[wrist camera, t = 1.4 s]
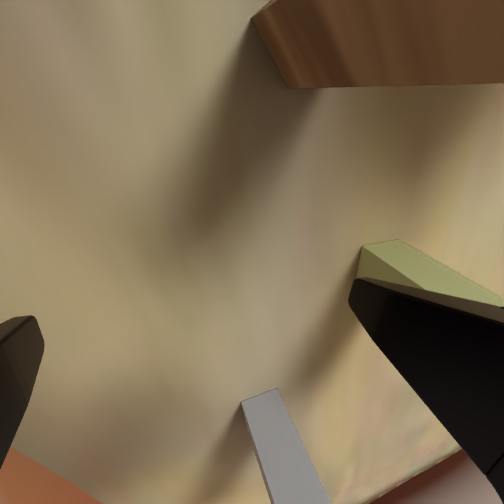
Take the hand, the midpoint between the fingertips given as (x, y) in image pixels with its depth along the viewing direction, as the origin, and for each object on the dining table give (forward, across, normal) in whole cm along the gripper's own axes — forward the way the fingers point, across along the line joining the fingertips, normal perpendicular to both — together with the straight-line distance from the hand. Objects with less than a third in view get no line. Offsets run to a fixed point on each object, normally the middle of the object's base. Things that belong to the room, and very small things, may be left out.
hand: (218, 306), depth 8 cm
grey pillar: (+12, +7, -24) cm, 27 cm away
